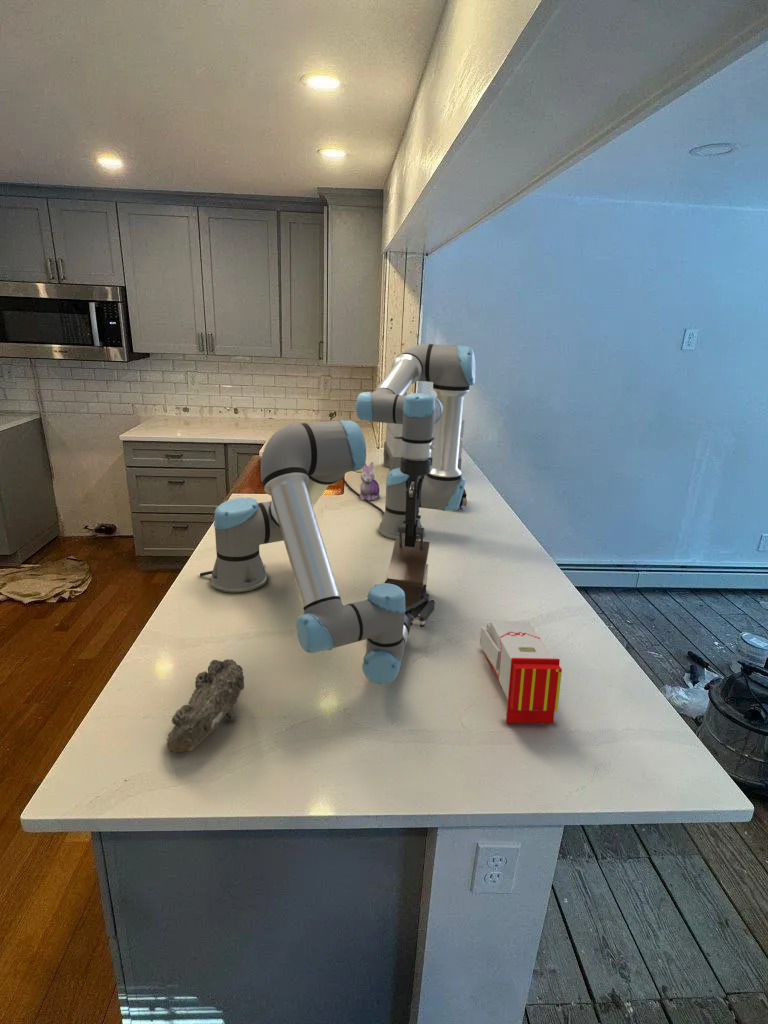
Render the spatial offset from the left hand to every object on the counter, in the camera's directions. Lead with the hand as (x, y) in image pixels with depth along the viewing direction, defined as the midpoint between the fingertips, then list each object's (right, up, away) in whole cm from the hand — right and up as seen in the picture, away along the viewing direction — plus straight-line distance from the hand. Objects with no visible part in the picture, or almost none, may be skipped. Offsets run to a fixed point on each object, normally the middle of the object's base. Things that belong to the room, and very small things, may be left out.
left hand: (405, 587), depth 148 cm
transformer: (+12, +38, +127) cm, 133 cm away
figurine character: (+24, +22, +82) cm, 89 cm away
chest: (0, -5, +6) cm, 7 cm away
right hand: (+1, +11, +1) cm, 11 cm away
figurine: (-12, +25, +88) cm, 92 cm away
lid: (+1, +6, +2) cm, 6 cm away
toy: (+22, -17, -25) cm, 38 cm away
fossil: (-38, -19, -40) cm, 59 cm away
